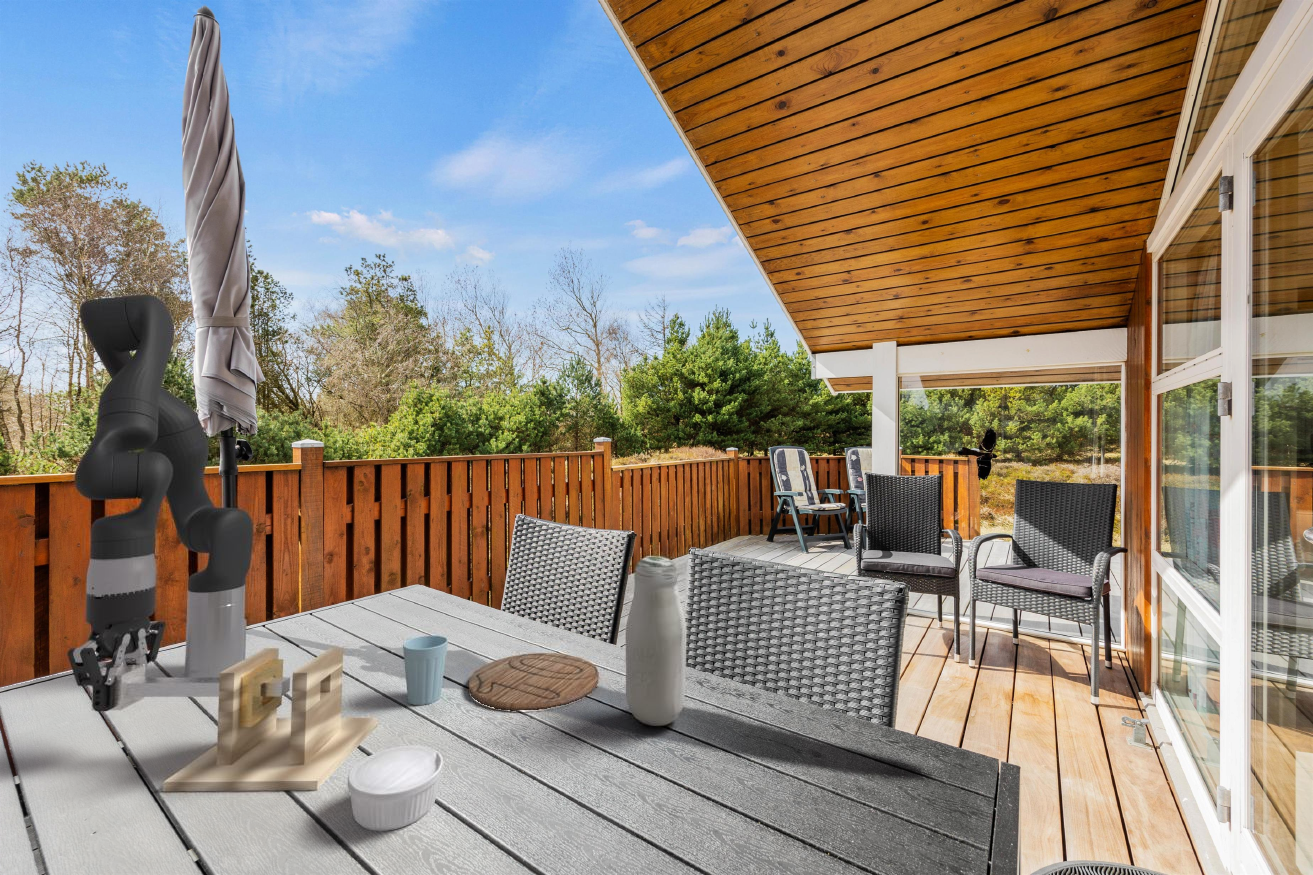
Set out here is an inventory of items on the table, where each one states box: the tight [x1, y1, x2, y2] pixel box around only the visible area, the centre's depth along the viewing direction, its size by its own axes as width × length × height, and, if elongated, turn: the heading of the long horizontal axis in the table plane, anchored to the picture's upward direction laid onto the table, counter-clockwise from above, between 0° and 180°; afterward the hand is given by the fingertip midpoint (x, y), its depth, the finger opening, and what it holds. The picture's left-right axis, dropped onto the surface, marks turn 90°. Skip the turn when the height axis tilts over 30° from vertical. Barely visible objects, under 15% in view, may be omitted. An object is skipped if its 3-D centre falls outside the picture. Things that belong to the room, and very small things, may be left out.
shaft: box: [91, 664, 291, 711], centre depth 84 cm, size 26×4×5 cm, turn 92°
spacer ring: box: [240, 658, 284, 727], centre depth 85 cm, size 2×7×7 cm, turn 3°
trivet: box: [468, 652, 600, 711], centre depth 112 cm, size 25×25×2 cm
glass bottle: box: [624, 555, 687, 727], centre depth 97 cm, size 10×10×28 cm
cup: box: [402, 634, 449, 706], centre depth 104 cm, size 8×8×10 cm
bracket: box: [162, 647, 379, 792], centre depth 85 cm, size 20×18×14 cm
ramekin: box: [347, 744, 444, 832], centre depth 73 cm, size 11×11×5 cm
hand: (118, 702), depth 84 cm, fingers closed on shaft, 4 cm apart
